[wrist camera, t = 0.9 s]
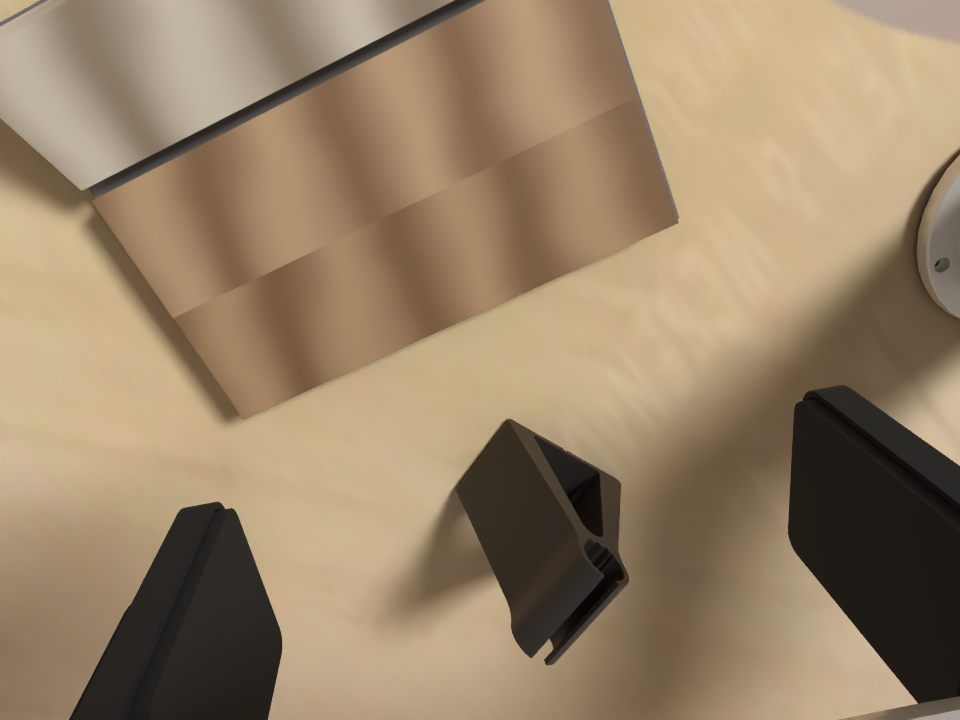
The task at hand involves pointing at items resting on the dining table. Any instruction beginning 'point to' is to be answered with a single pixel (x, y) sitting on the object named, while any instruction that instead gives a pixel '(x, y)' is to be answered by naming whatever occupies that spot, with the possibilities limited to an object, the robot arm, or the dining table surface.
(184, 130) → the loose plank
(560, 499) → the phone stand
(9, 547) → the dining table surface
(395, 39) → the floor panel
